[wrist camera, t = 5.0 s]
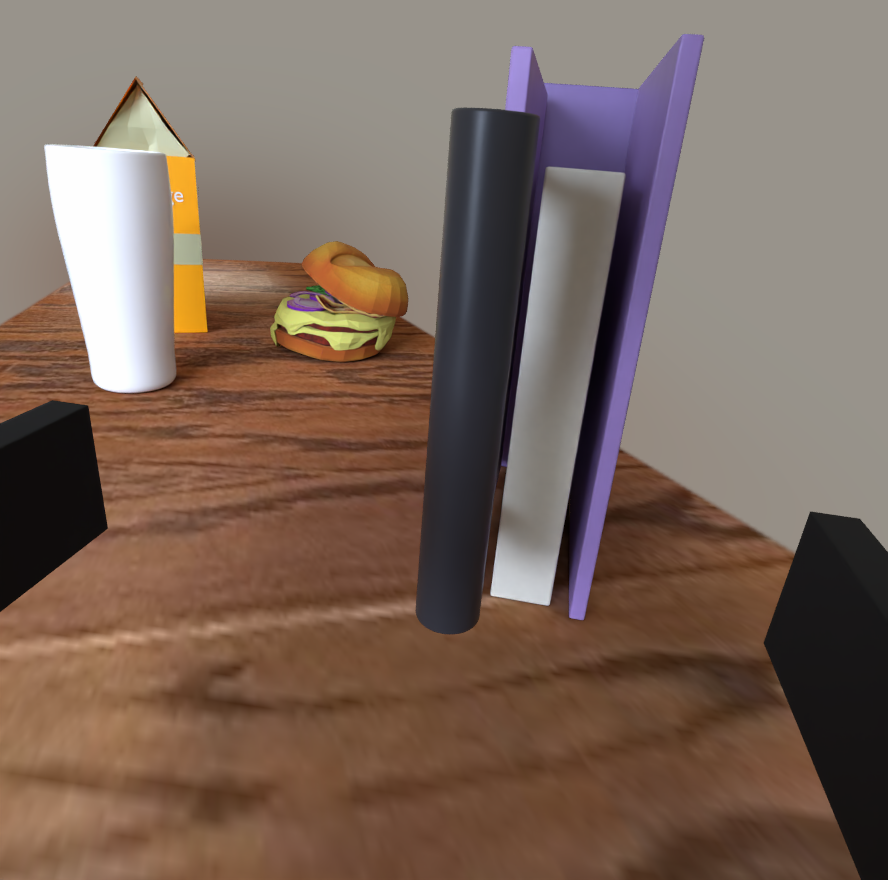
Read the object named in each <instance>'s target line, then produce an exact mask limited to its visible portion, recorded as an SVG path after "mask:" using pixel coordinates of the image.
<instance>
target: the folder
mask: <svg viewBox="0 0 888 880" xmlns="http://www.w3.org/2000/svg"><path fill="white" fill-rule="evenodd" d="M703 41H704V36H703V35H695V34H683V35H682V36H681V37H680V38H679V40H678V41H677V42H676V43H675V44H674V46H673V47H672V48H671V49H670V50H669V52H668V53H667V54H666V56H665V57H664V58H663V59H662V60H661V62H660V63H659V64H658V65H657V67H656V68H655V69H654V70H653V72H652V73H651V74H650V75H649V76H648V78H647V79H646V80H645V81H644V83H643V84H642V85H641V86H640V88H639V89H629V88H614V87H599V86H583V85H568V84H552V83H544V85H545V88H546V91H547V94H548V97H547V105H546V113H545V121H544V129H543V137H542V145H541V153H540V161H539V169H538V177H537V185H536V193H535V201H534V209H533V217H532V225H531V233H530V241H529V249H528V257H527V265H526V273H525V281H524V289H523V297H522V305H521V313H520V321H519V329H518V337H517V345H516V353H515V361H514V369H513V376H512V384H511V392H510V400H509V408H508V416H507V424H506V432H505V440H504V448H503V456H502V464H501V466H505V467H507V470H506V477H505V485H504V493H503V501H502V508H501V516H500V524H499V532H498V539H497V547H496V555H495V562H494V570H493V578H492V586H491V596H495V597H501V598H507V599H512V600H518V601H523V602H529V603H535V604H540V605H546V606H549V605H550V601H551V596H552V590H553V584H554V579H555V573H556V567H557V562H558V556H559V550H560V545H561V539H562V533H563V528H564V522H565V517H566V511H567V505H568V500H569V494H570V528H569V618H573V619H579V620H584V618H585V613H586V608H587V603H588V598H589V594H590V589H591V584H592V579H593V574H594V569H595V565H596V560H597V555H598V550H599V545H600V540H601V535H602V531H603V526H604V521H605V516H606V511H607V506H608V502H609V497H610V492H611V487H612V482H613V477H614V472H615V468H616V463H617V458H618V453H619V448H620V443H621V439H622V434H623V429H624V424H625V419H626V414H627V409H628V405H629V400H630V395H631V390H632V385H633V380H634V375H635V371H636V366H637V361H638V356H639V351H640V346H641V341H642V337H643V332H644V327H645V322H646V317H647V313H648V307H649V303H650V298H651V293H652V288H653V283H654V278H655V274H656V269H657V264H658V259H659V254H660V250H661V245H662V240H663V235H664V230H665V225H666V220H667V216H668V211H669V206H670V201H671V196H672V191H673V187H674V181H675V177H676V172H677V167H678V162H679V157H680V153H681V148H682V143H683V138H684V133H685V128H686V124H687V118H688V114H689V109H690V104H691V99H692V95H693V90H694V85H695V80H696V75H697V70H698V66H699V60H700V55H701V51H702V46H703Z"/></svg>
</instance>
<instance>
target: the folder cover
mask: <svg viewBox="0 0 888 880" xmlns="http://www.w3.org/2000/svg"><path fill="white" fill-rule="evenodd" d="M547 97H548V94H547V91H546V88H545V85H544V82H543V79H542V76H541V73H540V70H539V67H538V63H537V60H536V57H535V54H534V51H533V48H532V47H523V46H522V47H521V46H513V47H512V50H511V59H510V70H509V79H508V89H507V98H506V109H505V110H500V109H486V108H456V109H453V110H452V115H451V127H450V141H449V156H448V169H447V183H446V197H445V211H444V225H443V238H442V239H443V240H442V252H441V267H440V280H439V293H438V307H437V322H436V335H435V349H434V363H433V376H432V390H431V404H430V418H429V432H428V446H427V460H426V473H425V487H424V501H423V515H422V529H421V543H420V556H419V570H418V584H417V598H416V615H417V618H418V620H419V621H420V622H421V624H423V625H424V626H425V627H426V628H428V629H430V630H432V631H434V632H437V633H441V634H459V633H463V632H466V631H468V630H470V629H471V628H473V627H474V626H475V624H476V623H477V622H478V620H479V615H480V607H481V599H482V590H483V582H484V574H485V566H486V558H487V550H488V542H489V534H490V525H491V517H492V509H493V501H494V493H495V489H496V484H497V480H498V476H499V472H500V468H501V464H502V456H503V448H504V440H505V432H506V424H507V416H508V408H509V400H510V392H511V384H512V376H513V369H514V361H515V353H516V345H517V337H518V329H519V321H520V313H521V305H522V297H523V289H524V281H525V273H526V265H527V257H528V249H529V241H530V233H531V225H532V217H533V209H534V201H535V193H536V185H537V177H538V169H539V161H540V153H541V145H542V137H543V129H544V121H545V113H546V105H547Z"/></svg>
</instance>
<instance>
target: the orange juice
mask: <svg viewBox="0 0 888 880" xmlns="http://www.w3.org/2000/svg"><path fill="white" fill-rule="evenodd" d="M142 85H143V83H142V82H141V81H140V80H139V79H138V78H137V76H136V77H135V78H134V80H133V82H132V83H131V85H130V87H129V88H128V90H127V92H126V93H125V95H124V97H123V98H122V100H121V102H120V103H119V105H118V106H117V108H116V110H115V112H114V113H113V114H112V116H111V118H110V119H109V121H108V123H107V124H106V126H105V128H104V129H103V131H102V133H101V134H100V136H99V137H98V139H97V141H96V142H95V144H94V146H93V147H106V148H119V149H131V150H143V151H153V152H162V153H165V154H166V156H167V164H168V171H169V178H170V186H171V195H172V206H173V223H174V333H189V332H207V320H206V307H205V294H204V280H203V267H202V265H203V261H202V249H201V236H200V223H199V216H198V202H197V190H196V176H195V163H194V160H195V158H194V156H193V155H192V154H191V153H190V151H189V150H188V148H187V147H186V146H185V144H184V143H183V142H182V140H181V139H180V137H179V136H178V135H177V133H176V132H175V130H174V129H173V128H172V126H171V125H170V123H169V122H168V121H167V119H166V118H165V117H164V115H163V114H162V113H161V111H160V110H159V108H158V107H157V105H156V104H155V103H154V101H153V100H152V99H151V97H150V96H149V94H148V93H147V92H146V90H145V89H144V87H143V86H142ZM141 87H142V88H141ZM189 154H190V155H189Z"/></svg>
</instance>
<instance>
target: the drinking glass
mask: <svg viewBox="0 0 888 880" xmlns="http://www.w3.org/2000/svg"><path fill="white" fill-rule="evenodd" d="M44 149H45V157H46V167H47V176H48V183H49V190H50V197H51V202H52V208H53V213H54V218H55V223H56V227H57V231H58V235H59V239H60V243H61V247H62V251H63V255H64V259H65V263H66V267H67V270H68V275H69V279H70V283H71V286H72V290H73V294H74V298H75V302H76V306H77V310H78V314H79V318H80V322H81V326H82V331H83V335H84V339H85V343H86V347H87V351H88V356H89V363H90V369H91V375H92V379H93V381H94V383H95V384H96V385H97V386H98V387H100V388H102V389H104V390H107V391H111V392H118V393H141V392H148V391H153V390H157V389H160V388H163V387H165V386H167V385H169V384H171V383H172V382H173V381H174V379H175V377H176V360H175V345H174V223H173V206H172V195H171V186H170V178H169V171H168V164H167V156H166V154H165V153H162V152H153V151H143V150H131V149H119V148H106V147H91V146H77V145H60V144H46V145H45V146H44Z"/></svg>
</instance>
